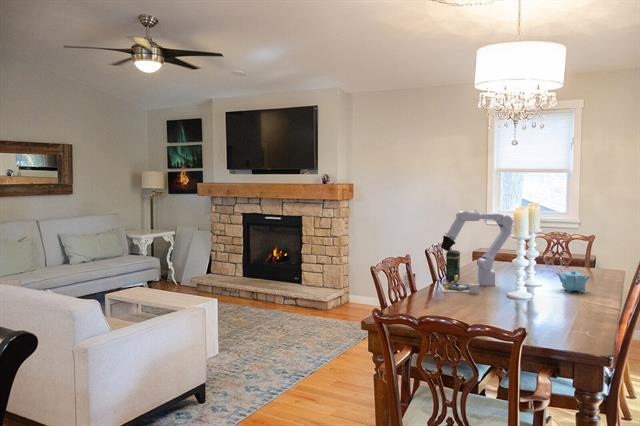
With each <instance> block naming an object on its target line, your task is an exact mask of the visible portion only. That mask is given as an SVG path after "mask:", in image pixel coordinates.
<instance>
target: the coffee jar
mask: <svg viewBox="0 0 640 426" xmlns="http://www.w3.org/2000/svg"><path fill="white" fill-rule="evenodd" d="M445 259H446V261H445V265H446V266H445V267H446V269H445V279H446V280H447V281H450V282H451V281H455V275H458V281H459V280H460V278H461V275H460V274H461V270H460V269H461V268H460V267H461V263H460V262H461V261H460V260H461V252H460V251H459V250H457V249H456V250H454V249H452V250H448V251H446V252H445Z"/></svg>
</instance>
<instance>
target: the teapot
mask: <svg viewBox="0 0 640 426" xmlns="http://www.w3.org/2000/svg"><path fill="white" fill-rule="evenodd" d="M555 274H556V275H557V276H558V279H559V281H560V283H561V286H562V288H564V291H566V292H567V293H572V292H574V291H575V292H577V293H578V294H579V293H580V294H581V293H583V292H585V291H586V283H587V281H588V280H589V279H590V277H591V276H589V275H584V273H581V272H580V271H579V272H577V271H576V270H571V271H570V272H569V271H565V272H564V271H562V273H559V272H555Z"/></svg>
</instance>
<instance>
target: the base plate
mask: <svg viewBox="0 0 640 426" xmlns="http://www.w3.org/2000/svg"><path fill="white" fill-rule="evenodd" d="M438 288H439V289H440V290H441V291H442V293H469V289H465V290H462V291H458V290H454V289H444V286H443V284H438Z"/></svg>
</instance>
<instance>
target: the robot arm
mask: <svg viewBox="0 0 640 426" xmlns="http://www.w3.org/2000/svg"><path fill="white" fill-rule="evenodd" d="M455 216H456V218H455V219H454V221H453V222H452V224H451V226H450V228H449V230H448V232H445V234H444V235H443V236H442V243H441V246H440V248H441V249H442V250H444V251H445V252H449V251H450V249H451V248H452V247H453V246H454V245H455V244H456V242H455V241H456V239H457V237H458V236H459V233H460V232H461V230H462V228H463V226H464V224H465V223H466V222H478V221H480V220H493V221H495V223H496V224H497V225H498V227H499V230H500V233H498V235H497V236H496V238H495V239H494V241H493V242H492V244H491V245H490V247H489V248H488V250H487V251H486V252H485V253H484V254H483V255H482V256H481V257H479V258H478V259H477V261H476V266H477V267H478V269H477V273H478V275H477V280H478V281H477V282H476V283H475V284H479V287H480V286H483V287H484V286H486V287H487V286H488V287H489V286H492V287H493V286H494V287H495V286H496V270H494V269H492V267H493V264H494V262H495V258H496V255H497V254H498V253H499V251H500V250H501V248H502V247H503V245H505V243H506V241H507V240H508V238H509V237H510V235H511V234H512V227H513V224H514V221H513V218H512V216H511V215H505V214H502V213H501V214H500V213H493V212H492V213H481V212H480V211H478V210H473V211H470V210H466V211H463V210H460V211H457V213H456V215H455Z"/></svg>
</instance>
